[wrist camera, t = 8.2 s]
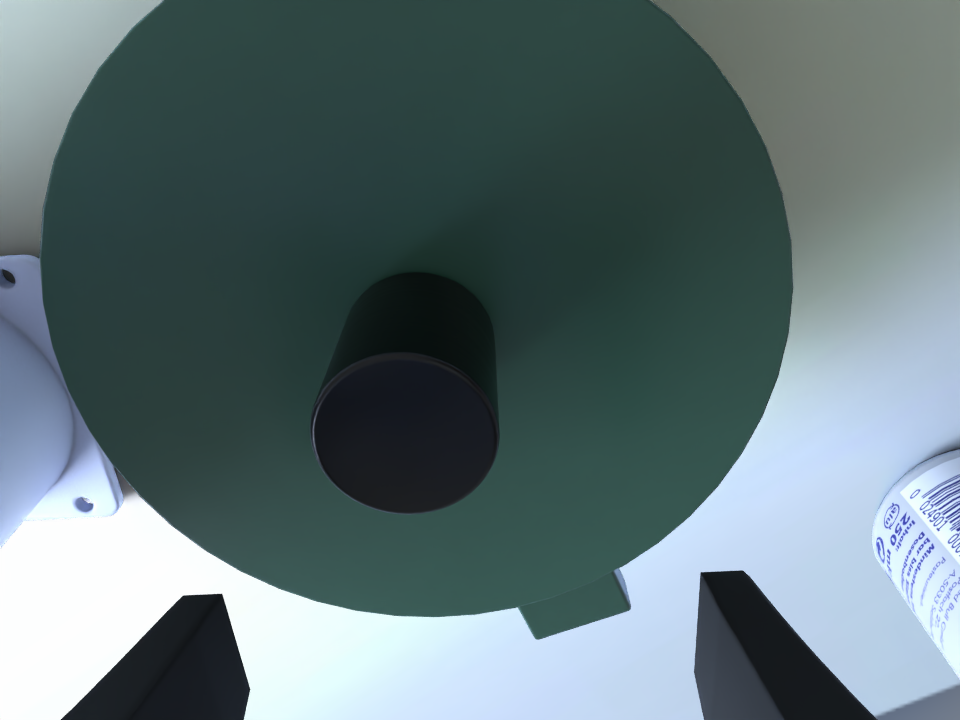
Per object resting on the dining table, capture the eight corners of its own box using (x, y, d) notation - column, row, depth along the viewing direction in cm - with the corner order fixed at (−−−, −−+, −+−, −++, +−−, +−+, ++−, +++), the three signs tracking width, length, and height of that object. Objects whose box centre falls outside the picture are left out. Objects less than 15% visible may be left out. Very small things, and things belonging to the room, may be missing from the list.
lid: (293, 649, 18) (244, 830, 14) (-89, 134, 13) (-331, 201, 9) (839, 464, 16) (956, 620, 12) (643, -248, 11) (737, -376, 7)
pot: (382, 546, 24) (353, 723, 18) (32, -17, 17) (-193, -15, 11) (753, 414, 22) (850, 567, 16) (527, -286, 15) (558, -451, 9)
